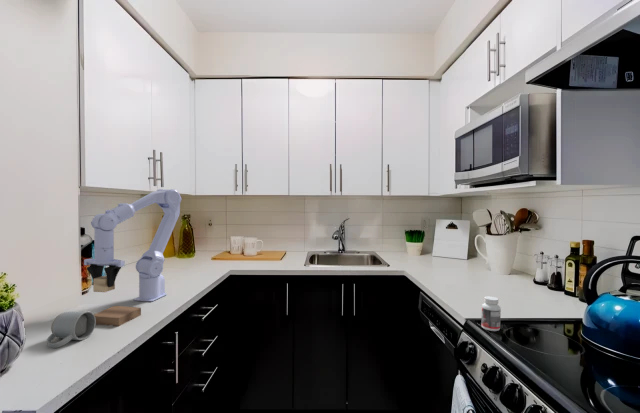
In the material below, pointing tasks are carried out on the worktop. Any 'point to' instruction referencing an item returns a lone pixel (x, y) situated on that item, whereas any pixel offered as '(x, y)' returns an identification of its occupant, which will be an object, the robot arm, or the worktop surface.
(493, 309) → the pill bottle
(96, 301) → the worktop surface
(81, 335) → the ceramic mug
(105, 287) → the oak cube
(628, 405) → the worktop surface
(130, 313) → the walnut block
